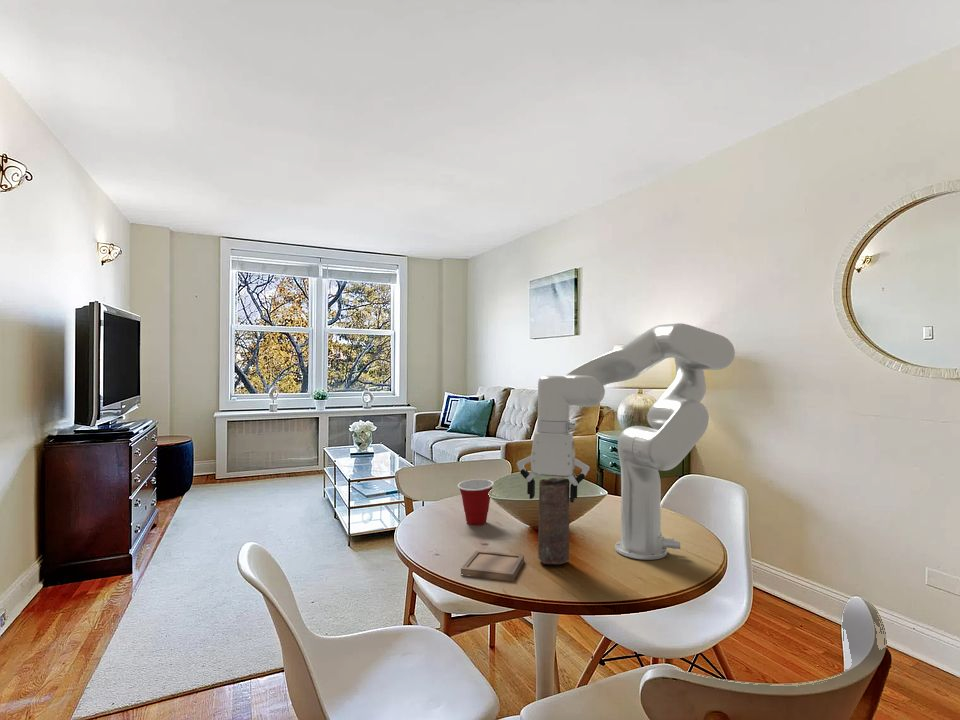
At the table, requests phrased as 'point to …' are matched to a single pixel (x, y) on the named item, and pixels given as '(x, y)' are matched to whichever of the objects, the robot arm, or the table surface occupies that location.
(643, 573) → the table surface
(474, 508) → the plastic cup
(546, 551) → the grey brown rough cylinder
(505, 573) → the picture frame
